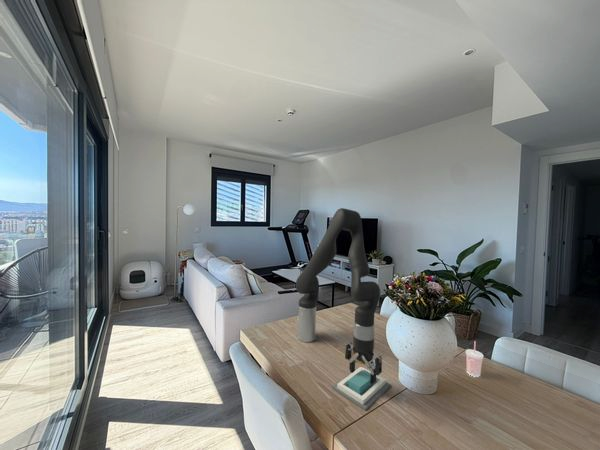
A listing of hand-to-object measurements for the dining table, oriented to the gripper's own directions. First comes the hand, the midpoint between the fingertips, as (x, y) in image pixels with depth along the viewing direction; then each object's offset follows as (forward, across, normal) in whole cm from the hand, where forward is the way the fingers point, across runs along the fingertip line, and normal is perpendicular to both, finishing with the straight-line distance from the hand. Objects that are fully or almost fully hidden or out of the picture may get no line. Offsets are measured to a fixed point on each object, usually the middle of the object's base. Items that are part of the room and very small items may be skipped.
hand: (362, 377), depth 93 cm
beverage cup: (+4, -27, -42) cm, 50 cm away
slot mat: (+4, 0, 0) cm, 4 cm away
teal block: (+3, 0, 0) cm, 3 cm away
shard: (+5, +11, -16) cm, 20 cm away
